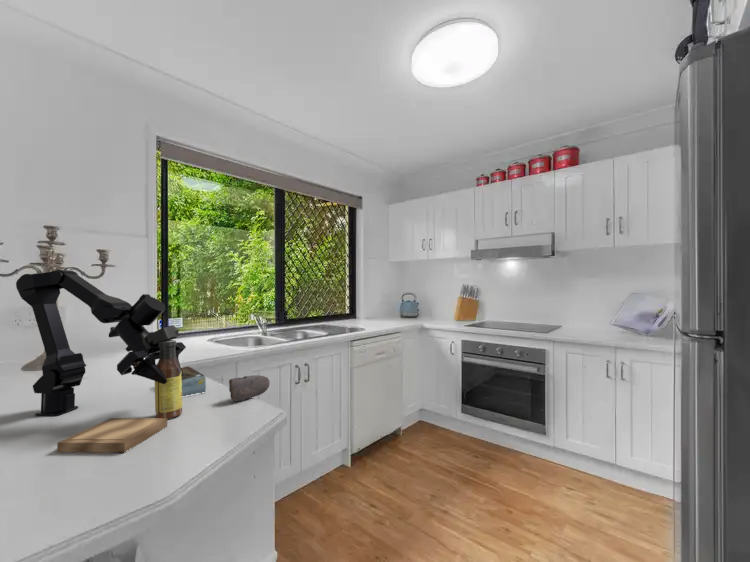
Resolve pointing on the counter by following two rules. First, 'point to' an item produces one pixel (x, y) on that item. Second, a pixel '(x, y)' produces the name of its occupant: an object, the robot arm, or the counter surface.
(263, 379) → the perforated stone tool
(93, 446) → the podium
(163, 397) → the sauce bottle
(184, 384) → the beverage carton
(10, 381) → the counter surface
